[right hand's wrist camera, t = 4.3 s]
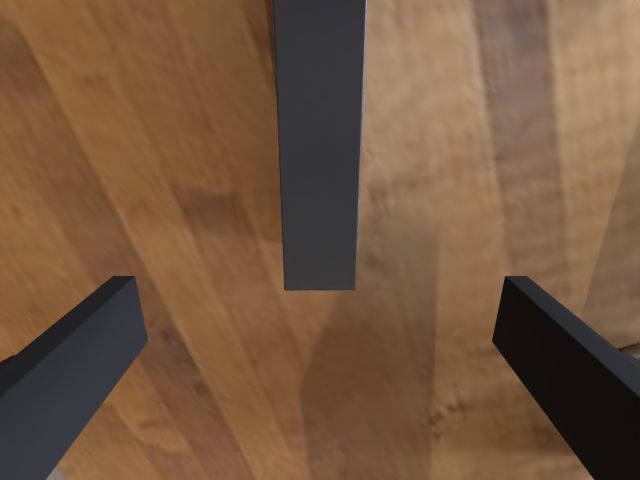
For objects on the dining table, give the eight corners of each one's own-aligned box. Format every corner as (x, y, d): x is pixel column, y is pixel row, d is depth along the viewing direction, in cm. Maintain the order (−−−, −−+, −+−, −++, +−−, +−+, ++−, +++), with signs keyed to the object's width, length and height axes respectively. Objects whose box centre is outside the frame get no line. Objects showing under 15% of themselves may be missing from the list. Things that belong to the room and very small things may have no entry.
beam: (280, -215, 20) (256, -406, 13) (359, -215, 20) (383, -406, 13) (293, 245, 30) (284, 291, 22) (346, 245, 30) (355, 291, 22)
